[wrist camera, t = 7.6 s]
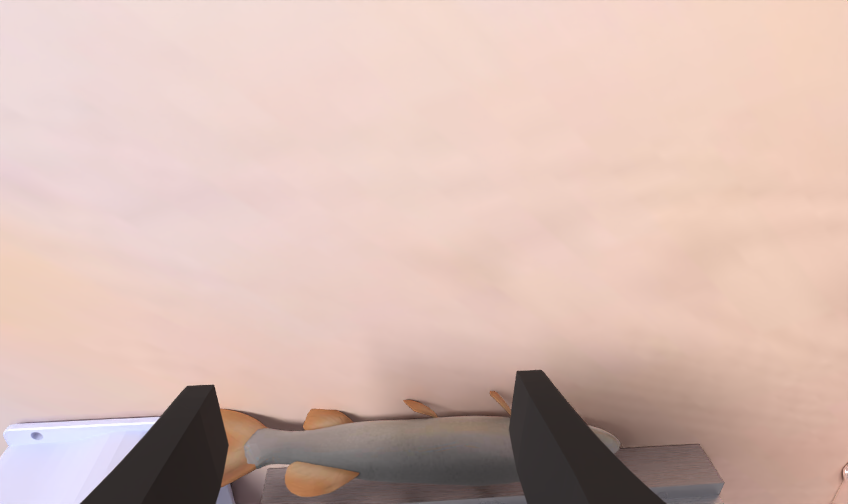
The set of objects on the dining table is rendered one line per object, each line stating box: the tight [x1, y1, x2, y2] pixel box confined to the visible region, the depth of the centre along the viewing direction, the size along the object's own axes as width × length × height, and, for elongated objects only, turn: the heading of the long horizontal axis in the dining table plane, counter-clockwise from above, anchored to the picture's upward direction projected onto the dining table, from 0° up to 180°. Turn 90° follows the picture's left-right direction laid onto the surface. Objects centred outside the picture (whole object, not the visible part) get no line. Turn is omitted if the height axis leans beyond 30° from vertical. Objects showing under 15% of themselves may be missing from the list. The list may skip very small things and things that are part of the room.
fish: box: [220, 391, 621, 497], centre depth 25 cm, size 4×21×5 cm, turn 85°
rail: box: [261, 444, 724, 504], centre depth 29 cm, size 24×3×3 cm, turn 89°
